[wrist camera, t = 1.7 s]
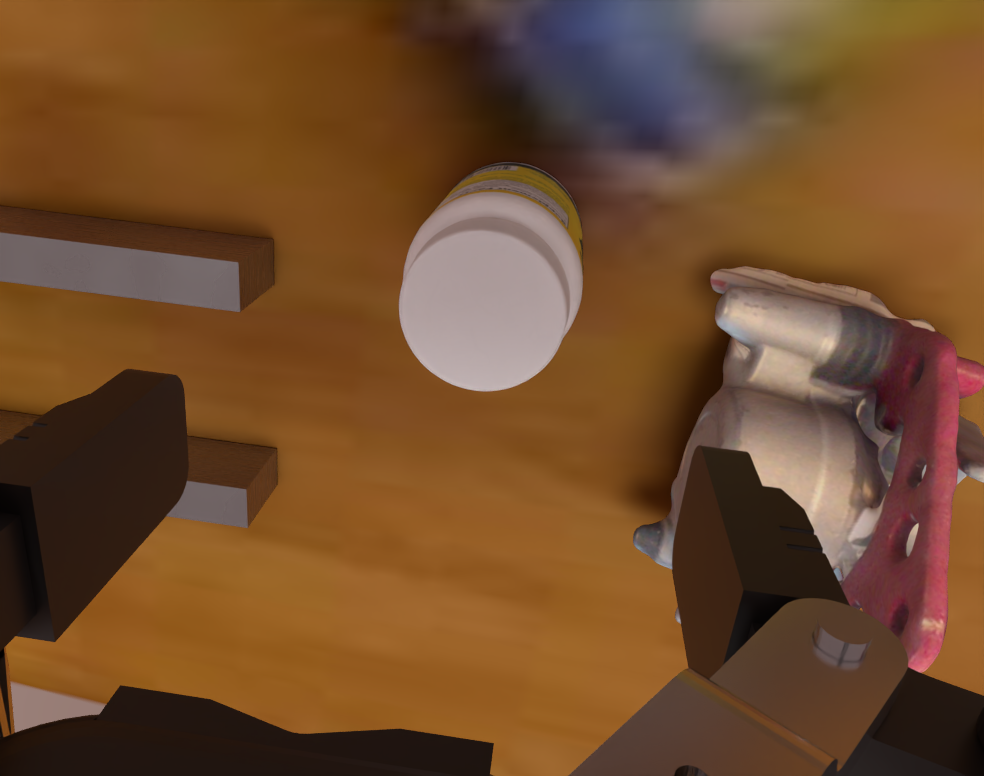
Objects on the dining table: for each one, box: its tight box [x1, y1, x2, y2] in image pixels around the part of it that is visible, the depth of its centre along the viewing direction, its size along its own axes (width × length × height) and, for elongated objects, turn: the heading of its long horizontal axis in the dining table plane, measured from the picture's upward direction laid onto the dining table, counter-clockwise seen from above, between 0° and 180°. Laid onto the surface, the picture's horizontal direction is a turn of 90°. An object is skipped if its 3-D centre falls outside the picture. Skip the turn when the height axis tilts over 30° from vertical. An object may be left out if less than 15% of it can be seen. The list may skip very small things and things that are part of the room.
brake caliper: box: [633, 266, 984, 673], centre depth 24 cm, size 11×11×12 cm
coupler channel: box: [0, 206, 277, 528], centre depth 28 cm, size 10×14×3 cm
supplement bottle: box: [399, 162, 583, 391], centre depth 22 cm, size 5×5×8 cm
